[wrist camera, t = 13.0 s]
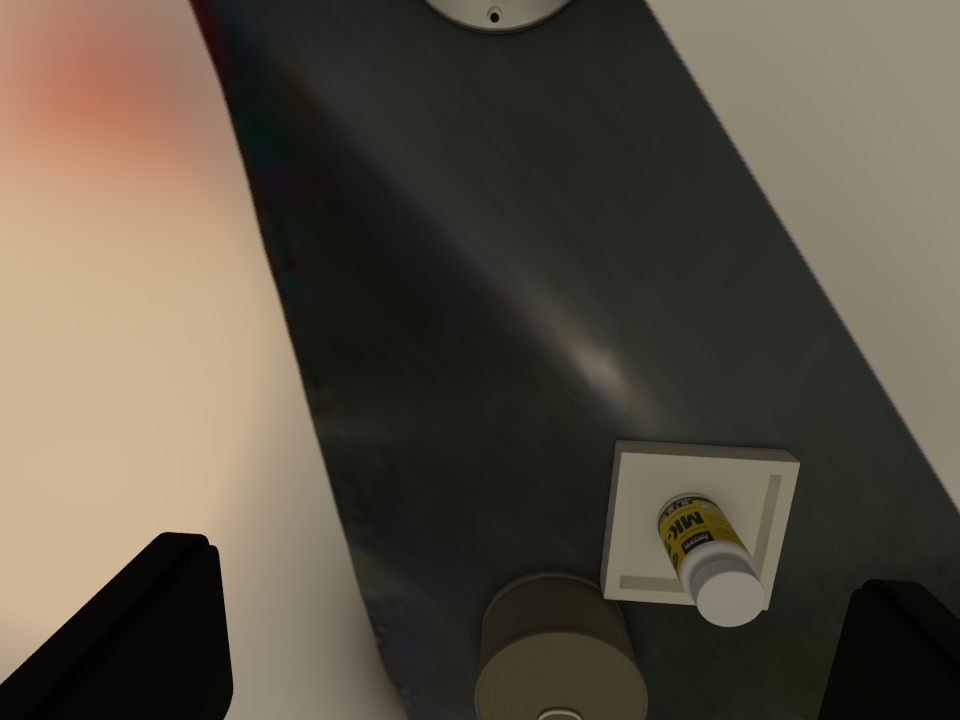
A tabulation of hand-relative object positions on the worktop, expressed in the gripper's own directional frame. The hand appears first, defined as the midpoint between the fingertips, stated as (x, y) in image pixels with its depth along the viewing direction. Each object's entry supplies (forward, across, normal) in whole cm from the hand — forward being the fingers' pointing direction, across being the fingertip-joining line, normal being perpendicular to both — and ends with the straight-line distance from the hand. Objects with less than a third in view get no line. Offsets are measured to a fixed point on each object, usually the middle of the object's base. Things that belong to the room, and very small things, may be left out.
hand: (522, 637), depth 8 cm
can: (+31, -5, +27) cm, 41 cm away
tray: (+30, -14, +16) cm, 37 cm away
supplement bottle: (+30, -14, +16) cm, 37 cm away
